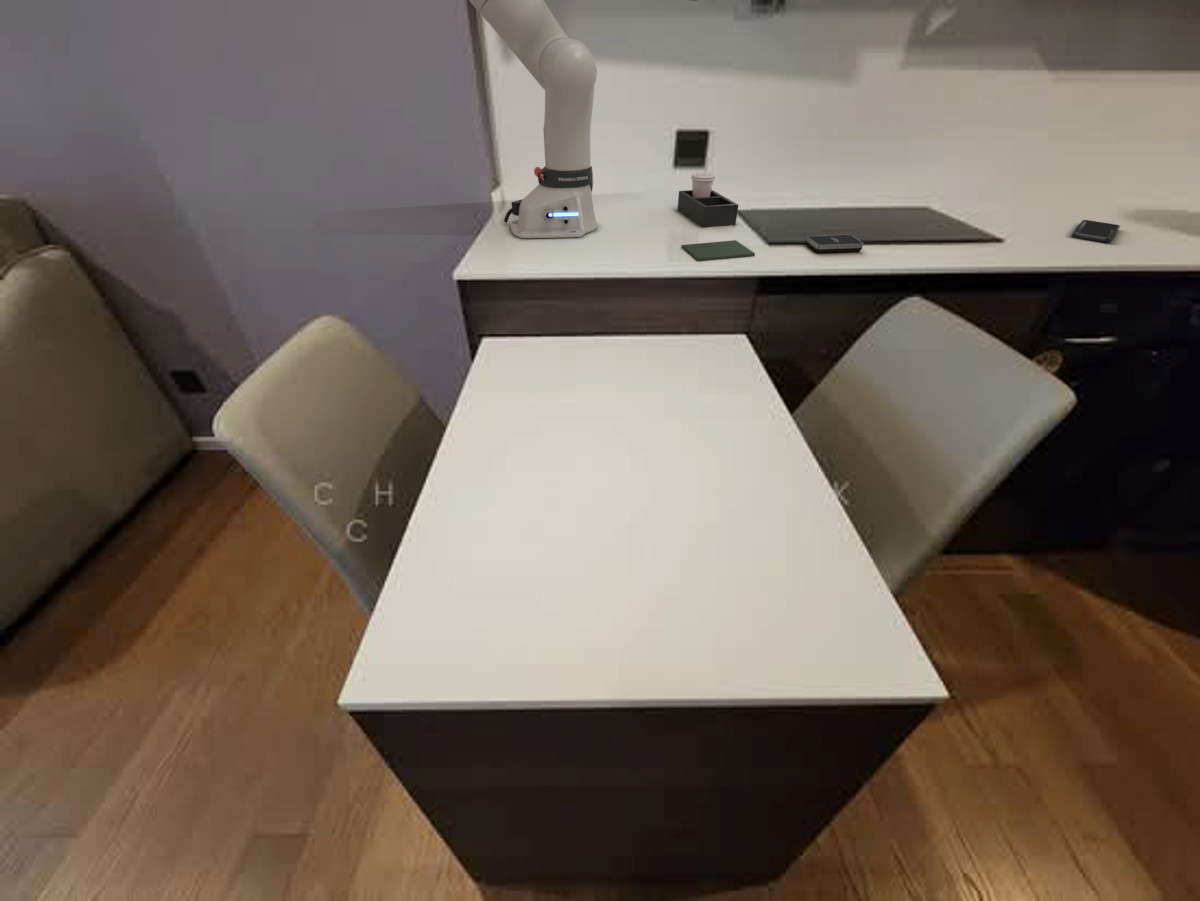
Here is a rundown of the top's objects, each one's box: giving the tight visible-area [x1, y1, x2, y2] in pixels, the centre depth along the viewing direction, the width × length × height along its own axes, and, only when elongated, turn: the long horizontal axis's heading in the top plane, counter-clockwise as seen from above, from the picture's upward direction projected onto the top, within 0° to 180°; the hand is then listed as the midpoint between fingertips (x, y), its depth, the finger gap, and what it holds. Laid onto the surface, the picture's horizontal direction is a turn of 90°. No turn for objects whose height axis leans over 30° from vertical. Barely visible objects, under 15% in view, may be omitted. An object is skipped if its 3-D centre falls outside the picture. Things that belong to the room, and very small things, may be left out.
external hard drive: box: [805, 234, 864, 254], centre depth 123 cm, size 7×11×2 cm, turn 95°
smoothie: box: [690, 156, 716, 198], centre depth 144 cm, size 6×6×14 cm
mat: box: [680, 239, 756, 262], centre depth 122 cm, size 14×10×1 cm
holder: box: [677, 189, 739, 228], centre depth 143 cm, size 18×10×5 cm, turn 14°
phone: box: [1071, 219, 1121, 244], centre depth 131 cm, size 8×1×15 cm
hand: (701, 0), depth 116 cm, fingers open, 8 cm apart
